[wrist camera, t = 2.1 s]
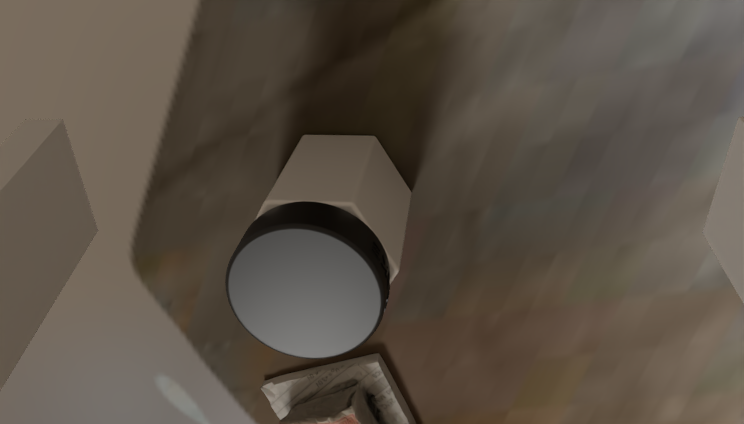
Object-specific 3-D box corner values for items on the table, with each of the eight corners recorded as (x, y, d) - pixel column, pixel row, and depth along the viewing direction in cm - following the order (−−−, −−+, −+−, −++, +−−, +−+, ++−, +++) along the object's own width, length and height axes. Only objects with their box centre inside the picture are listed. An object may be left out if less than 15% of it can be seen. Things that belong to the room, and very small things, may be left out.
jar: (366, 268, 47) (337, 390, 37) (260, 213, 46) (197, 321, 36) (433, 166, 43) (421, 269, 32) (317, 102, 42) (266, 188, 31)
